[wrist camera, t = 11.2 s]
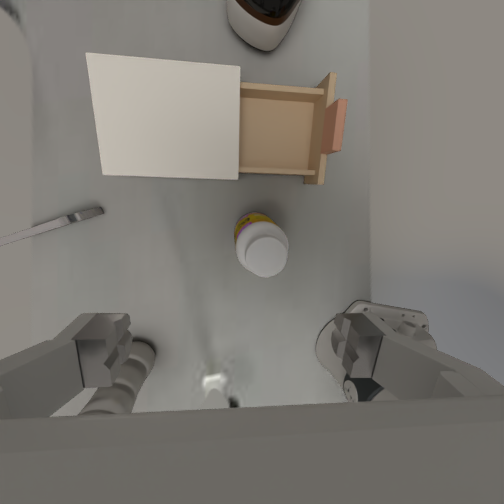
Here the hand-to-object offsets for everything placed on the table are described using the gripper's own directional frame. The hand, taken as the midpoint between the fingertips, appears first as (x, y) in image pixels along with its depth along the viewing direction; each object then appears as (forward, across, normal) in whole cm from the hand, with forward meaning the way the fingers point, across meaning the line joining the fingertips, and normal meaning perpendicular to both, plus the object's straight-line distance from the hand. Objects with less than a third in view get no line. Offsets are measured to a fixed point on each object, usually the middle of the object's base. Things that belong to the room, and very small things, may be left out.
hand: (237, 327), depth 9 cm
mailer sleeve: (+29, +7, -12) cm, 32 cm away
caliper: (+29, +28, +3) cm, 41 cm away
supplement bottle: (+29, -4, +2) cm, 29 cm away
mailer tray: (+28, -4, -12) cm, 31 cm away
